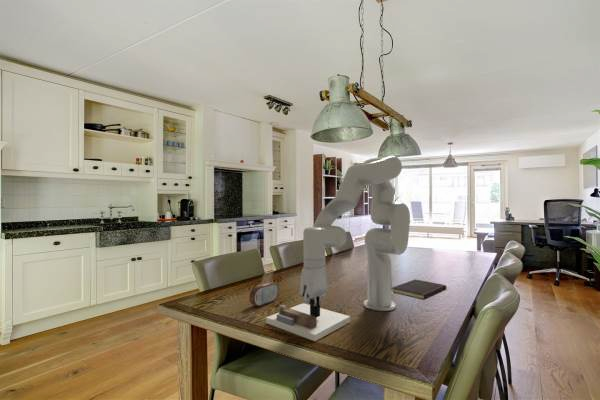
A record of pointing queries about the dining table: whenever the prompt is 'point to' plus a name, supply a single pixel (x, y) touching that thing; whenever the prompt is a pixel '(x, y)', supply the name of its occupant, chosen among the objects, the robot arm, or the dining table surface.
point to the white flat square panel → (325, 325)
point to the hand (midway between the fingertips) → (315, 315)
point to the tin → (264, 293)
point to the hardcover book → (419, 288)
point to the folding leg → (299, 317)
